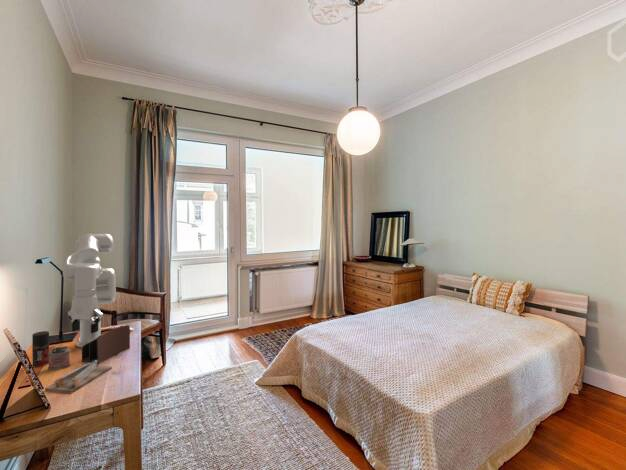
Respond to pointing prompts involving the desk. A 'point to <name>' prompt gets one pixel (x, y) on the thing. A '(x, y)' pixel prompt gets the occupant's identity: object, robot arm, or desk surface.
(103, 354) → the letter holder
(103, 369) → the board
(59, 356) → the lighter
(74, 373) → the tongs fixed
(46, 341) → the deodorant
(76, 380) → the tongs arm
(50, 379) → the desk surface
